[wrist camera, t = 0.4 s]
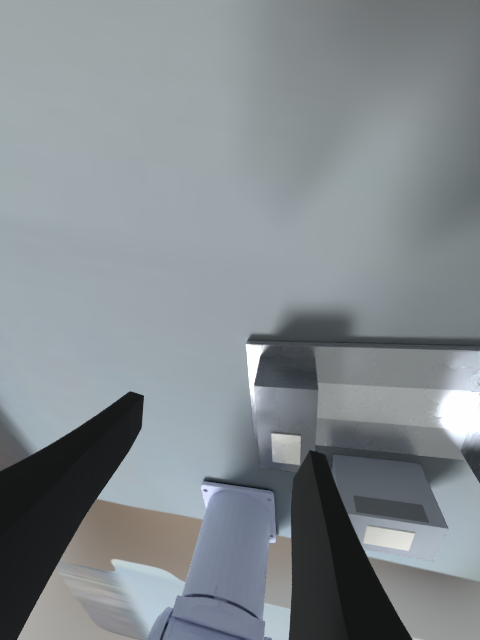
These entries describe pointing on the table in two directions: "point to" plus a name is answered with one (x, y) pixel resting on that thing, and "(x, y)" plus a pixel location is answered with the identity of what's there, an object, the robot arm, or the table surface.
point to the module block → (390, 506)
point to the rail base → (364, 400)
